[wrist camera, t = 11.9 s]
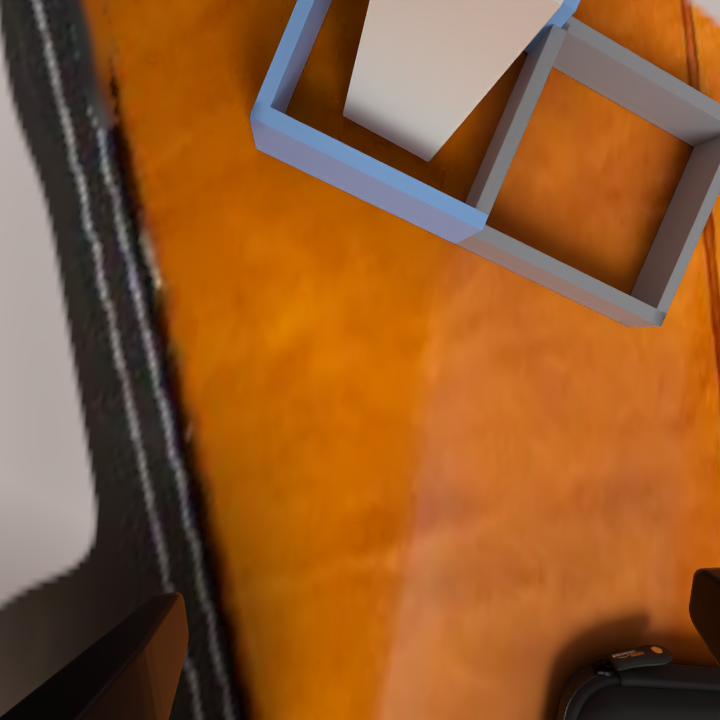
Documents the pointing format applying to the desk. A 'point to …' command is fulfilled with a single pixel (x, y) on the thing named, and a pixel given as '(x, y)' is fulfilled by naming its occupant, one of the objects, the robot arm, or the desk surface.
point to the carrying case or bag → (641, 689)
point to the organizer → (467, 220)
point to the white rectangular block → (435, 64)
